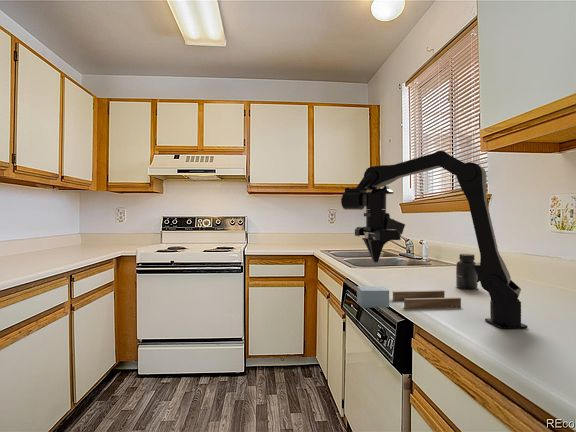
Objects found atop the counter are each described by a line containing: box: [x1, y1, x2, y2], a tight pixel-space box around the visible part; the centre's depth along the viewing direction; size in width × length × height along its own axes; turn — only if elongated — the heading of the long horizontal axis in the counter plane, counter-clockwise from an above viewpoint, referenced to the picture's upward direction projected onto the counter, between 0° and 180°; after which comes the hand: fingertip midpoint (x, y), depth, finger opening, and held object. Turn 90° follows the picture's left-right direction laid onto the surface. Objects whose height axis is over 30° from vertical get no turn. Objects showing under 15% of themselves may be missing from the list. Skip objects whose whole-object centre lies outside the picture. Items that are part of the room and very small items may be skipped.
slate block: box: [356, 285, 390, 309], centre depth 102 cm, size 6×8×5 cm
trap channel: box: [392, 289, 462, 309], centre depth 103 cm, size 10×16×2 cm, turn 93°
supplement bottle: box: [455, 253, 479, 291], centre depth 123 cm, size 7×7×12 cm
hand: (375, 262), depth 103 cm, fingers closed
